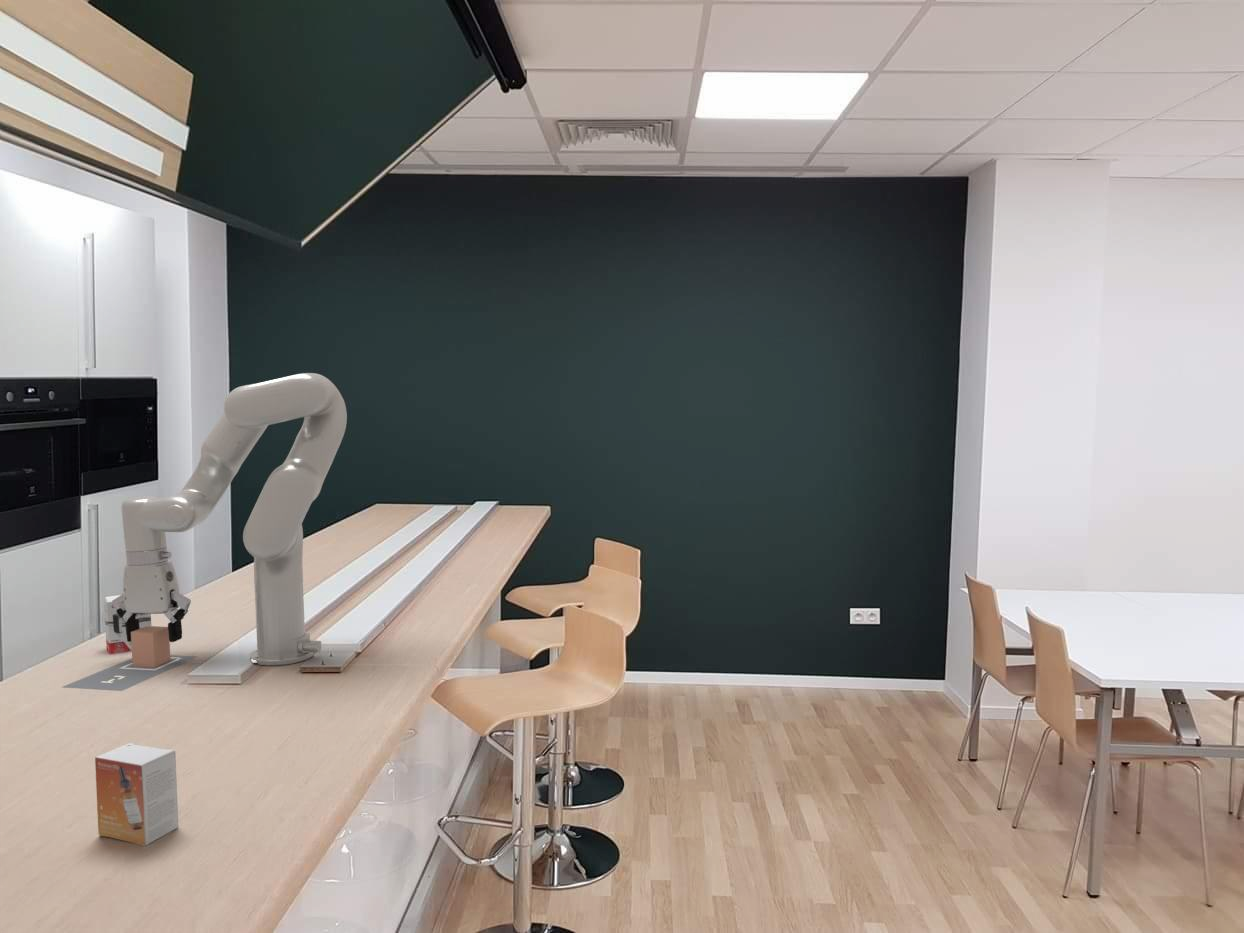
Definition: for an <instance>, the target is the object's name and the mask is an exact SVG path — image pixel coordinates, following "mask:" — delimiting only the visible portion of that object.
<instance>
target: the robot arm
mask: <svg viewBox="0 0 1244 933" xmlns="http://www.w3.org/2000/svg"><path fill="white" fill-rule="evenodd" d="M223 404H224V405H223V409H224V410H223V413H222V414H221V416H220V417H219V419H218V420H217V421H216V424H215V425H214V426H213V427H212V429H211V430H210V432H209V433H208V435H207V437H206V438H205V439H204V441H203V442H202V445H201V449H200V458H199V461H198V464H197V466H196V468H195V470H194V471H193V473H192V474H191V476H190V477H189V479H188V480H187V482H186V483H185V484H184V487H182V489H181V490H180V492H178V493H176V494H174V495H171V496H167V497H161V498H160V497H158V496H155V495H143V496H134V497H129V498H126V499H125V500H123V501H122V503H121V516H122V517H121V518H122V519H121V520H122V528H123V539H124V549H125V558H126V565H125V566H124V570H123V582H122V583H123V584H122V585H123V586H122V590H123V591H122V592H123V593H122V594H120V595H121V596H119V597H117V598H116V599H114V600H113V601H112V604H113V606H114V607H115V609H116V610H117V611H116V612H117V614H118V615H119V616H120V617H121V618H122V621H123V622H124V623H125V625H126V635H127V641H128V642H131V632H133V631H135V630H138V629H140V627H139V620H138V619H136V617H137V615H138V614H151V615H156V614H157V615H159V614H163V615H164V616H165V617H166V618H167V619H168V620H169V622H168V623H167V627H168V632H169V641H170V643H175V642H177V641H180V640H181V639H182V638H183V628H182V620H184V618H185V616H186V615H187V613H188V612H189V608H190V605H191V602H192V599H190V598H189V597H187V596H186V595H183V594H181V593H180V588H179V583H178V578H177V574H176V571H175V568H174V564H173V563H172V561H169V559H171V557H172V552H171V551H168V549H167V536H166V533H184V532H185V533H186V532H187V531H190V530H192V529H193V528H195V527H197V526H198V525H200V524H202V523H204V521H206V520H207V518H209V516H210V515H211V513H212V512H213V510H214V509H215V507H216V506H217V505H218V503H219V501H220V500H221V499H222V498H223V496H224V494H225V493H226V492H227V490H228V488H229V487H230V484H231V483H232V481H233V479H234V477H235V476H236V475H237V474H238V472H239V470H240V468H241V466H242V465H243V463H244V462H245V460H246V459H247V458H248V456H249V454H250V453H251V451H252V450H253V448H254V447H255V445H256V444H257V442H258V441H259V439H261V436H262V435H263V434H264V432H265V431H266V429H267V428H268V426H271V425H275V424H280V423H283V422H288V421H292V420H297V419H300V418H303V422H302V425H301V428H300V430H299V431H298V433H297V435H296V438H295V440H294V442H293V444H292V447H291V449H290V451H289V452H288V454H287V456H286V459H285V460H284V461H283V463H282V464H281V465H279V466H278V467H276V468H275V469H274V470H273V471H272V472H271V473H270V474H269V476H268V478H267V480H266V482H265V483H264V485H263V488H262V489H261V492H260V494H259V496H258V498H257V500H256V502H255V504H254V507H253V509H252V511H251V513H250V515H249V517H248V519H247V521H246V524H245V526H244V529H243V532H242V533H243V534H242V541H243V544H244V545H243V546H244V547H245V549H246V550H247V552H248V553H249V554H250V555H251V556H252V557H253V578H254V579H253V580H254V582H253V583H254V602H255V622H256V624H255V625H256V642H257V644H256V646H257V647H256V648H257V649H255V650H254V651H252V652H250V654H249V660H250V659H253V660H256V661H257V663H258V664H257V665H260V666H281V665H282V666H284V665H291V664H296V663H299V662H304V661H306V660H309V659H310V658H312V657H313V656H314V654H315V653H320V652H321V651H322V641H321V640H312V639H311V634H310V633H306V626H305V604H304V603H305V602H304V600H305V598H304V575H303V574H304V570H303V569H304V568H303V555H304V554H303V552H304V550H303V546H304V532H303V531H304V529H303V522H304V520H305V517H306V515H307V513H308V511H309V510H310V507H311V505H312V503H313V502H314V501H316V499H317V498H318V496H319V495H320V493H321V490H322V486H323V484H324V482H325V479H326V477H327V475H328V472H329V471H330V468H331V465H332V464H333V462H334V459H335V457H336V454H337V452H338V450H339V447H340V446H341V443H342V441H343V438H344V436H345V432H346V429H347V423H348V422H347V420H348V414H347V412H348V411H347V407H346V406H347V405H346V402H345V400H344V398H343V396H342V394H341V392H340V390H339V389H338V388H337V386H336V385H335V384H334V383H333V382H332V381H331V380H330V379H329V378H327V377H326V376H324V375H322V374H319V373H314V372H305V373H304V372H302V373H297V374H293V375H292V374H291V375H288V376H283V377H279V378H275V379H271V380H265V381H262V382H257V383H251V384H245V385H241V386H238V387H236V388H234V389H233V390H231V391H230V392H229V393H228V394H227V396H226V398H225V400H224V403H223ZM123 602H124V605H125V607H124V605H123Z"/></svg>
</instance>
